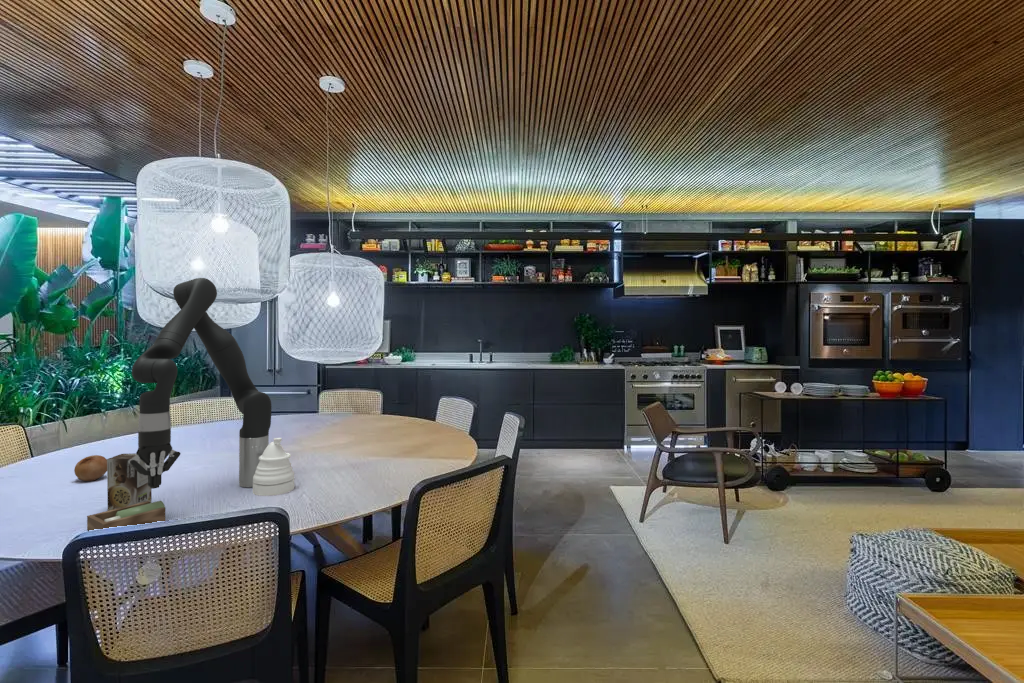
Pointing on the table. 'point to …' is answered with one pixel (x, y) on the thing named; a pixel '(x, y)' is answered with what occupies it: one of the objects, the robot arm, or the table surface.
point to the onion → (91, 468)
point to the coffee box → (126, 483)
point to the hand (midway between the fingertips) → (154, 487)
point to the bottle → (137, 510)
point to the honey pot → (273, 471)
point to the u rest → (146, 517)
